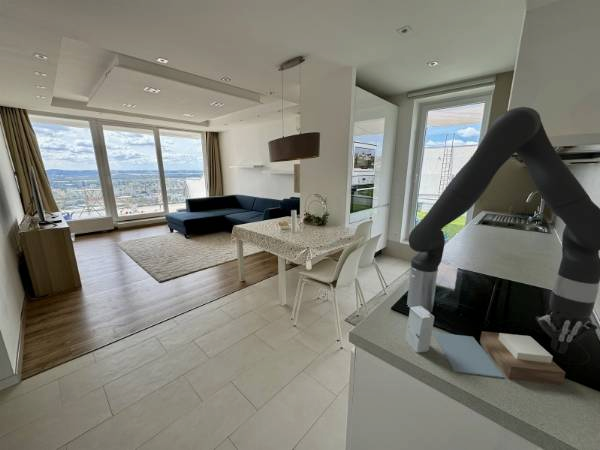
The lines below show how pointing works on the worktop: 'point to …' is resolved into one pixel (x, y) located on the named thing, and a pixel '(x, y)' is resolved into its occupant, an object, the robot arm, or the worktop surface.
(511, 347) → the coaster
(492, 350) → the stand
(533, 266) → the worktop surface
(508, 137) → the robot arm
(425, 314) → the skincare box
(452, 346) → the mat
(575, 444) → the worktop surface
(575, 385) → the worktop surface
